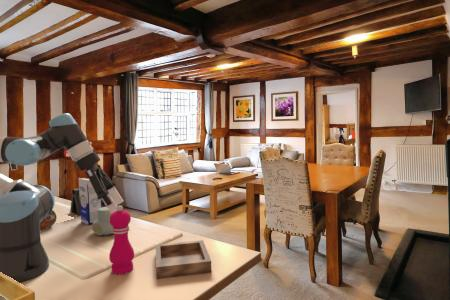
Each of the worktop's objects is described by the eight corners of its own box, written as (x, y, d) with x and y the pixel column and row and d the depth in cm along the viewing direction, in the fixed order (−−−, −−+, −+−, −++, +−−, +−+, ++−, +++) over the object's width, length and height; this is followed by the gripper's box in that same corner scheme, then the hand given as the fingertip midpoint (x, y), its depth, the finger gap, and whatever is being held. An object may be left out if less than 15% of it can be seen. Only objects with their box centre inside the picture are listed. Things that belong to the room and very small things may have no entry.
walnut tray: (156, 278, 91) (156, 267, 90) (155, 254, 106) (155, 244, 106) (211, 272, 94) (211, 261, 94) (203, 249, 110) (203, 240, 109)
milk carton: (80, 222, 139) (78, 177, 136) (95, 218, 144) (93, 175, 141) (88, 225, 134) (86, 179, 132) (103, 221, 139) (101, 177, 137)
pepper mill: (109, 277, 92) (105, 210, 89) (110, 265, 99) (107, 203, 96) (135, 273, 94) (132, 207, 91) (134, 262, 101) (132, 201, 98)
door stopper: (70, 212, 153) (68, 188, 152) (82, 209, 158) (80, 185, 156) (79, 215, 148) (78, 190, 146) (91, 212, 152) (90, 188, 151)
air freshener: (89, 233, 126) (87, 209, 125) (107, 227, 133) (105, 204, 131) (106, 239, 120) (105, 213, 119) (124, 232, 127) (123, 208, 125)
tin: (14, 234, 125) (12, 214, 124) (14, 232, 127) (12, 212, 126) (57, 226, 134) (55, 207, 133) (56, 224, 136) (54, 205, 135)
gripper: (86, 153, 97) (124, 210, 100) (100, 148, 121) (130, 194, 124) (64, 165, 95) (102, 223, 99) (82, 158, 120) (113, 205, 123)
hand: (118, 207), depth 112 cm, fingers open, 13 cm apart
